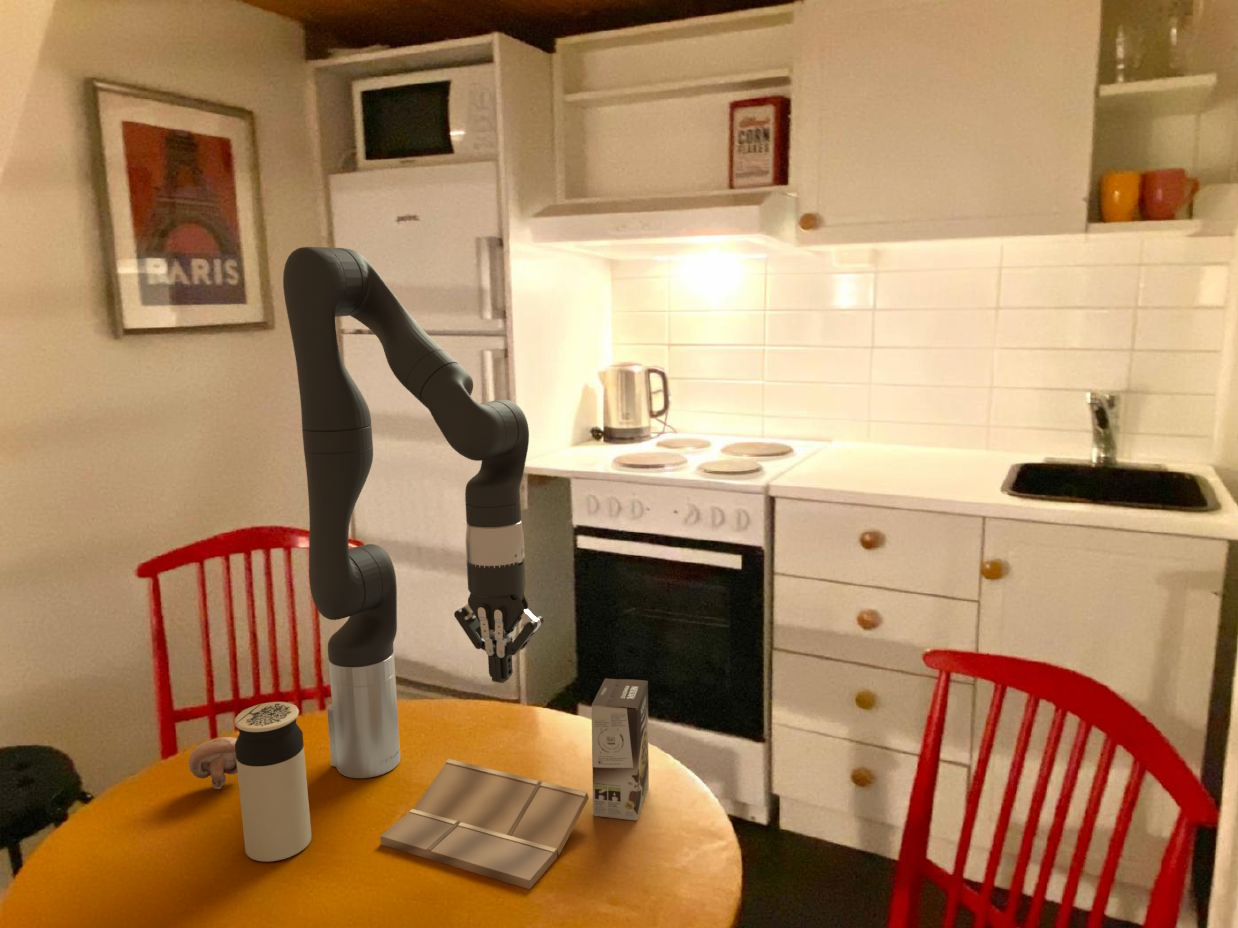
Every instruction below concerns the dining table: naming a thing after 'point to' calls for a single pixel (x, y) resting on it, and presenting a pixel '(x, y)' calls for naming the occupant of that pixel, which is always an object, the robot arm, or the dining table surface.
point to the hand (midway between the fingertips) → (501, 680)
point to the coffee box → (620, 748)
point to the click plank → (504, 803)
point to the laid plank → (470, 848)
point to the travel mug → (272, 781)
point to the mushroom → (214, 760)
